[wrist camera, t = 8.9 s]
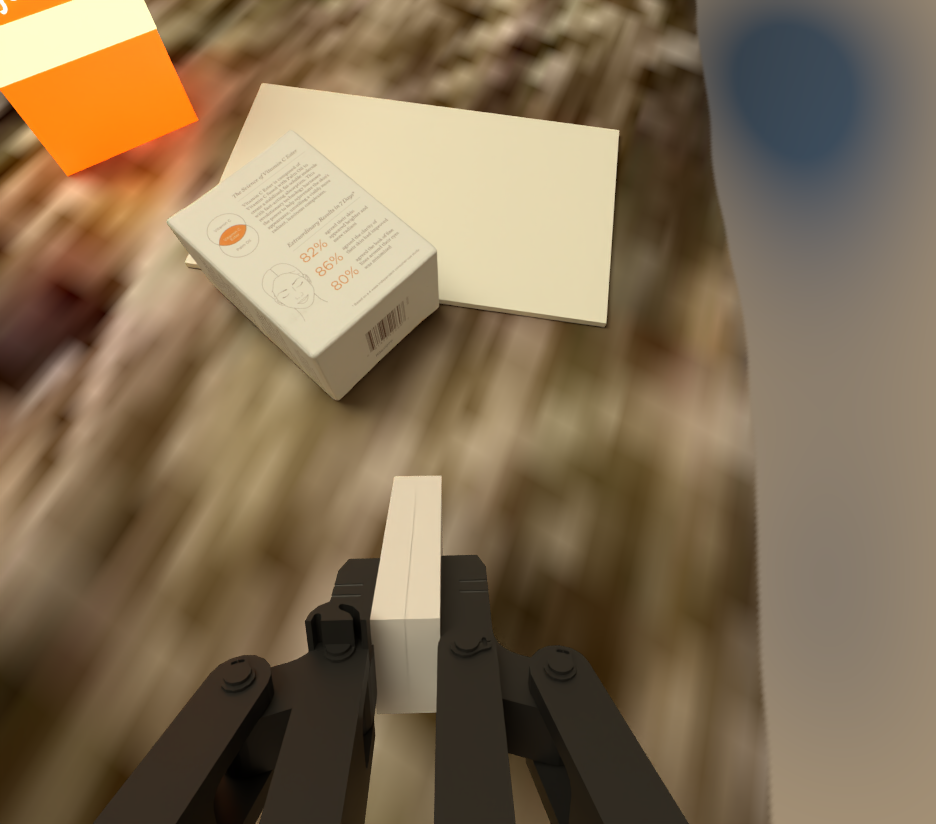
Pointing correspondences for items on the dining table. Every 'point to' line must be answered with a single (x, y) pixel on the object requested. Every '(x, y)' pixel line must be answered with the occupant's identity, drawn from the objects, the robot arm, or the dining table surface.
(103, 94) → the orange juice
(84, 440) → the dining table surface
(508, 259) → the mat
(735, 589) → the dining table surface
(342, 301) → the small box
